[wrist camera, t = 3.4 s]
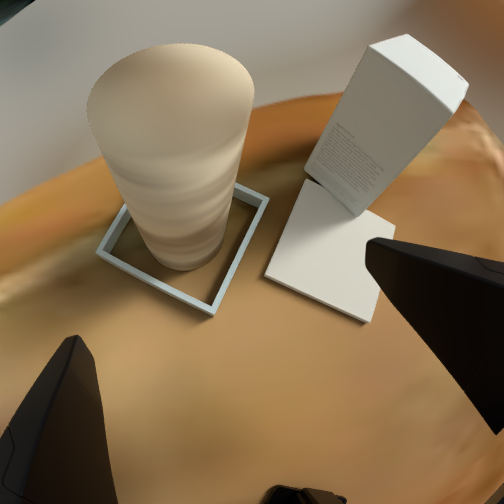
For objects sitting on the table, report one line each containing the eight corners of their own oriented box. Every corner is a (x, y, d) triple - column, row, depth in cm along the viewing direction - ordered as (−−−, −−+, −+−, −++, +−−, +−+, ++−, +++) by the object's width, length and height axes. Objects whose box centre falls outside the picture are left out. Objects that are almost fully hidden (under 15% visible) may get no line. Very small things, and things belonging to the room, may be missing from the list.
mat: (366, 323, 22) (370, 322, 22) (263, 276, 22) (265, 274, 22) (391, 228, 25) (395, 226, 25) (304, 181, 25) (306, 178, 25)
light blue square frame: (213, 316, 21) (214, 314, 19) (101, 258, 21) (95, 252, 19) (265, 206, 24) (269, 198, 23) (162, 160, 24) (160, 150, 22)
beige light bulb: (202, 284, 21) (202, 183, 8) (130, 248, 21) (55, 123, 8) (237, 215, 23) (278, 70, 10) (169, 184, 23) (151, 33, 10)
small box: (345, 131, 28) (406, 31, 16) (393, 173, 27) (471, 84, 15) (299, 169, 25) (366, 42, 13) (356, 220, 24) (456, 115, 12)
